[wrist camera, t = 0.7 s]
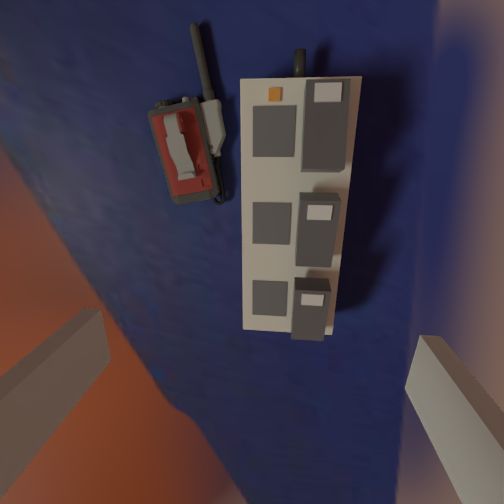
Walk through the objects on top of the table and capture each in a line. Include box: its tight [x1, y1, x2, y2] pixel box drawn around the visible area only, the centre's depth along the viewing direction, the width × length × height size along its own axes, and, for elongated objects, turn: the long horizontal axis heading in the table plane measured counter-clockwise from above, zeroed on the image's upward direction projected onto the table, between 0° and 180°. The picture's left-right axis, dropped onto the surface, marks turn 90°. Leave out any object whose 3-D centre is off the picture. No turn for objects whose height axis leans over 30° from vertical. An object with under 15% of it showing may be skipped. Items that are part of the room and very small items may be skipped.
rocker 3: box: [291, 277, 331, 341], centre depth 34 cm, size 8×4×3 cm, turn 179°
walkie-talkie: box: [147, 23, 226, 205], centre depth 34 cm, size 9×4×20 cm
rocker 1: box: [301, 78, 351, 173], centre depth 27 cm, size 8×4×3 cm, turn 0°
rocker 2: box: [295, 192, 341, 268], centre depth 31 cm, size 8×4×3 cm, turn 0°
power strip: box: [240, 48, 362, 335], centre depth 35 cm, size 33×12×5 cm, turn 0°
